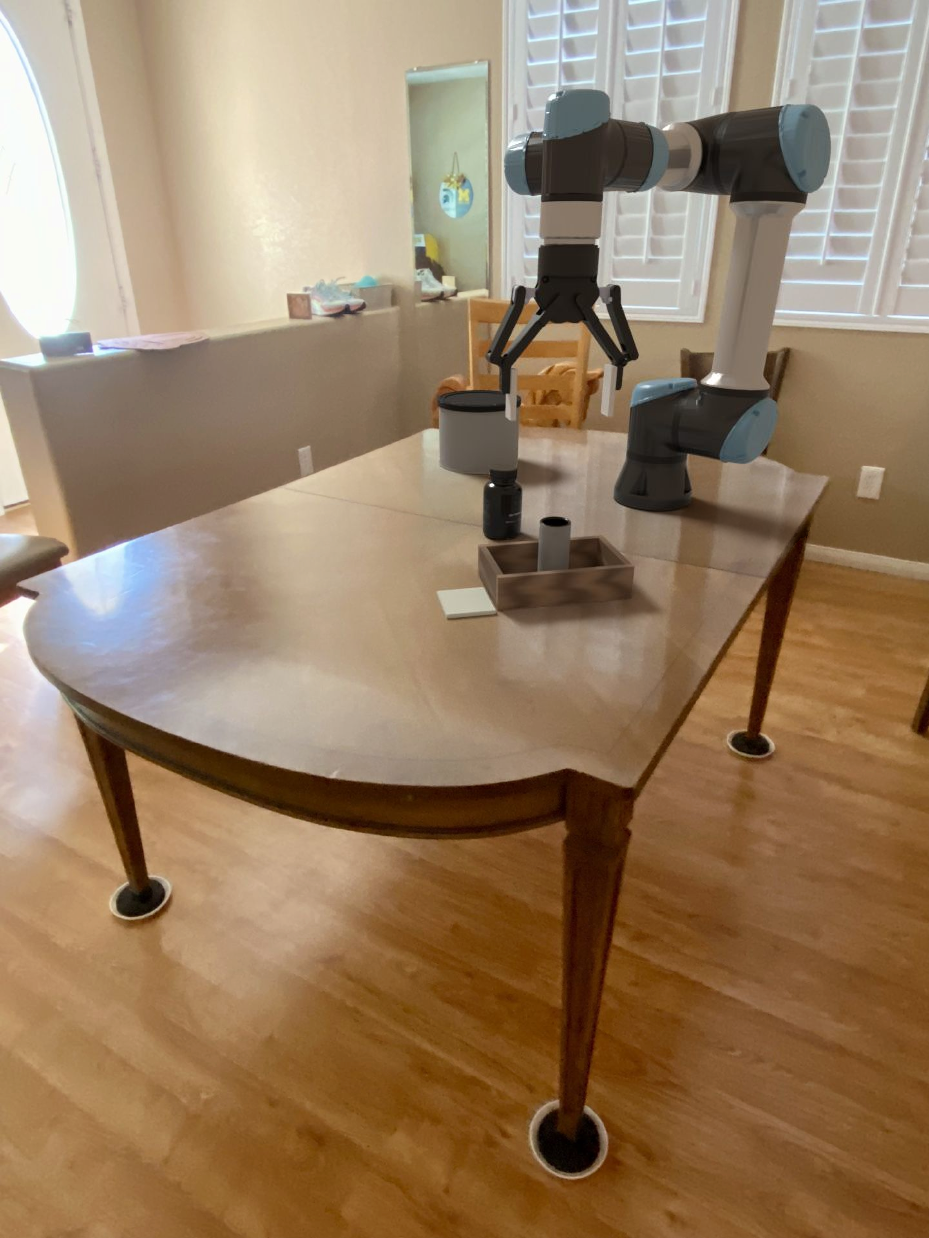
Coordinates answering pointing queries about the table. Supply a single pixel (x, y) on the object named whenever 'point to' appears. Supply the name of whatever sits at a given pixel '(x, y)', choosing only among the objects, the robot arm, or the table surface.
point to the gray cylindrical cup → (554, 543)
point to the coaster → (465, 602)
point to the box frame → (554, 574)
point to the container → (476, 431)
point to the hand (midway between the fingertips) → (559, 417)
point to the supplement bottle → (502, 503)
